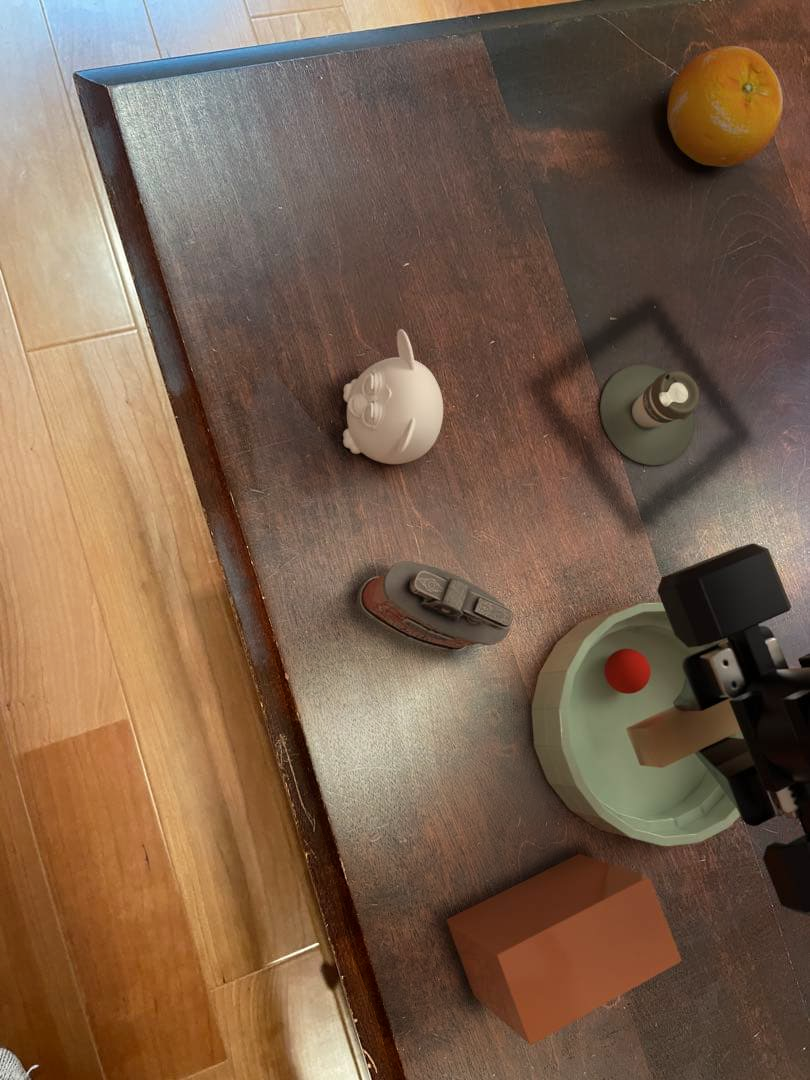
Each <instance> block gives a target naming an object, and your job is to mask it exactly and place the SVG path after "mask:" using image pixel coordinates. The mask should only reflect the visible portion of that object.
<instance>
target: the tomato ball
mask: <svg viewBox="0 0 810 1080" xmlns="http://www.w3.org/2000/svg"><path fill="white" fill-rule="evenodd" d="M650 674H651V670H650V665H649V663H648V661H647V659H646V658H645V656H644V655H642V654H641V653H640V652H638V651H636V650H633V649H621V650H618V651H616V652H614V653H613V654H612V655H611V656H610V657H609V658H608V660H607V662H606V664H605V677H606V679H607V682H608V683H609V685H610V686H611V687H612V688H613V689H615V690H616V691H618V692H621V693H625V694H632V693H636V692H638V691H640V690H642V689H643V688H644V687H645V686H646V685H647V683H648V681H649V679H650Z"/></svg>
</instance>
